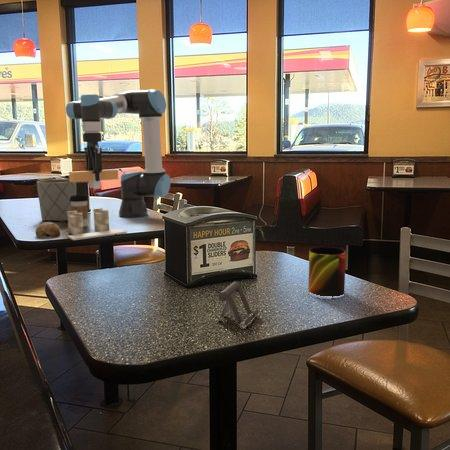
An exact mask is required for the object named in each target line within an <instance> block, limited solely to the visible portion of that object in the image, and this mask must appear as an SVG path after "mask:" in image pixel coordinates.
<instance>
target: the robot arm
mask: <svg viewBox="0 0 450 450" xmlns="http://www.w3.org/2000/svg"><path fill="white" fill-rule="evenodd" d="M166 109H167V101H166V98H165V95H164V94H163V92H162V91H160V90H159V89H138V90H136V89H135V90H134V89H133V90H127V91H124V92H120V93H116V94H114V95H112V96H108V97H102V98H100V95H98V94H96V93H83V94H81V95H80V101H74V100H73V101H70V102H67V104H66V106H65V111H66V112H65V113H66V116H67V117H68V118H69V119H72V120H81V125H80V126H81V127H82V132H83V133H82V141H83V142H84V143H86V147H84V149H83V150H84V156H85V171H93V170H94V172H92V173H93V181H88V182H89V183H88V185H89V189H93V190H99V189H100V190H101V180H100V172H102V170H103V163H102V162H103V159H102V156H103V155H102V153H103V152H102V147H99V143H101V142H102V133H101V132H102V124H101V123H102V121H101V119H107V120H110V119H114V118H115V117H116V116H117V115H119V114H131V115H132V114H133V115H138V119H140V120H141V122H142V132H143V133H142V135H143V137H142V138H143V150H144V162H145V163H144V164H145V165H144V166H145V168H144V170H143V171H142V170H140V171H133V172H132V171H131V172H126V173H125V172H124V173H122V174H121V175H120V190H121V192H120V193H121V203H120V208H119V209H118V216H119V217H123V218H139V217H140V218H141V217H146V216H148V213H149V211H148V208H147V206H146V203H145V198H144V197H155V198H158V197H159V198H162V197H165V196H167V194H168V193H169V191H170V188H171V177H170V175H169V174H167V173H166V169H165V168H163V157H162V143H161V142H162V141H161V122H160V121H161V119H162V118H163V114H164V113H165V112H166Z"/></svg>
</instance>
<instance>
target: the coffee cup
mask: <svg viewBox="0 0 450 450" xmlns="http://www.w3.org/2000/svg"><path fill="white" fill-rule="evenodd" d="M70 201H71V209H72V211H77V213H82V216H83V228H84V227H88V209H89V208H88V207H89V205H88V201H89V197H88V194H87V193H86V194H76V195H72V196H70Z"/></svg>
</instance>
